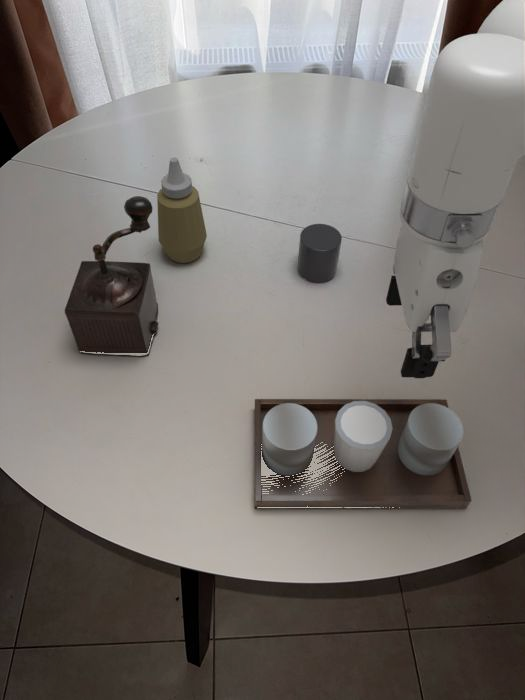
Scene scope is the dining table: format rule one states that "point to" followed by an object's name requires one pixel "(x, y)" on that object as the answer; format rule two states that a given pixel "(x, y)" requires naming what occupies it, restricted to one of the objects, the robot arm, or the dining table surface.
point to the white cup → (360, 435)
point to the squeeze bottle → (180, 216)
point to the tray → (375, 483)
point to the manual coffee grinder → (115, 296)
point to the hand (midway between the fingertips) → (407, 337)
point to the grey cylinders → (319, 253)
